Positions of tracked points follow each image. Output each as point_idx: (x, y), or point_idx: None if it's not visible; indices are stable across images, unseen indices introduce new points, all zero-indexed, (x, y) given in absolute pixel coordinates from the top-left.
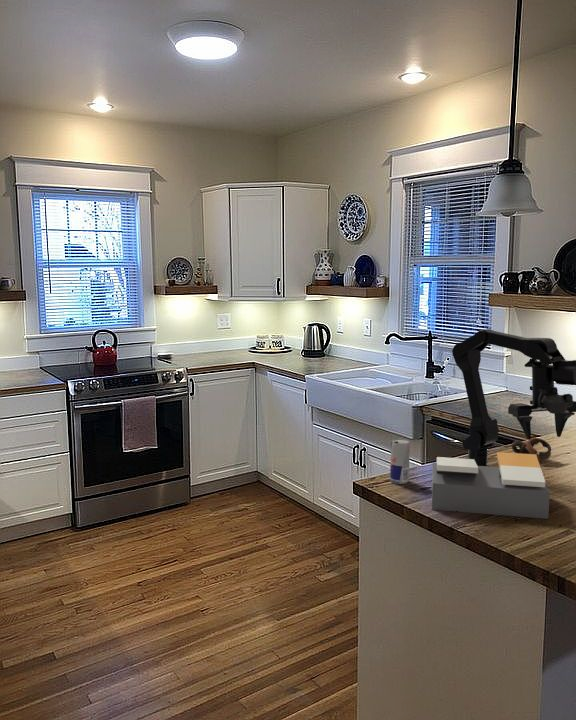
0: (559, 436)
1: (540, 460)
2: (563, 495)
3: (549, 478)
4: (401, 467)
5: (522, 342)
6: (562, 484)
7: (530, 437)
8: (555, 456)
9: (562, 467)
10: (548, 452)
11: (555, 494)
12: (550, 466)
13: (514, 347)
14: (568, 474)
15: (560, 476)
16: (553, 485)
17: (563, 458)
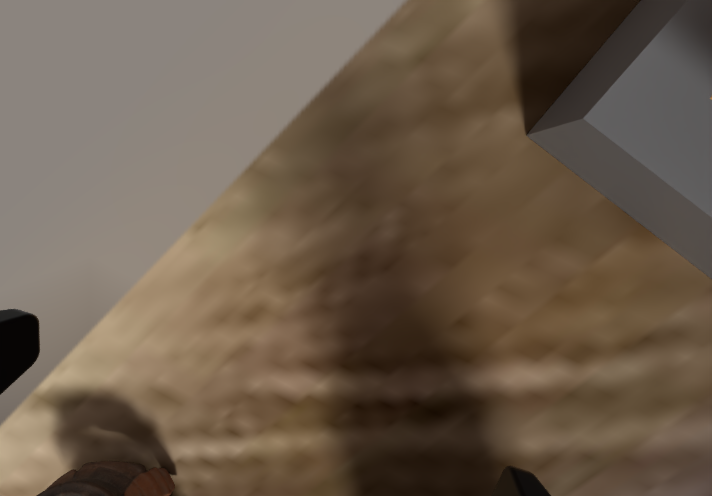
0: (26, 313)
1: (137, 469)
2: (391, 62)
3: (252, 301)
4: None
5: None
6: (259, 204)
7: (526, 488)
8: (20, 488)
9: (86, 379)
10: (66, 485)
11: (420, 95)
12: (126, 415)
13: None
14: (127, 299)
15: (182, 296)
16: (314, 213)
17: (6, 455)
